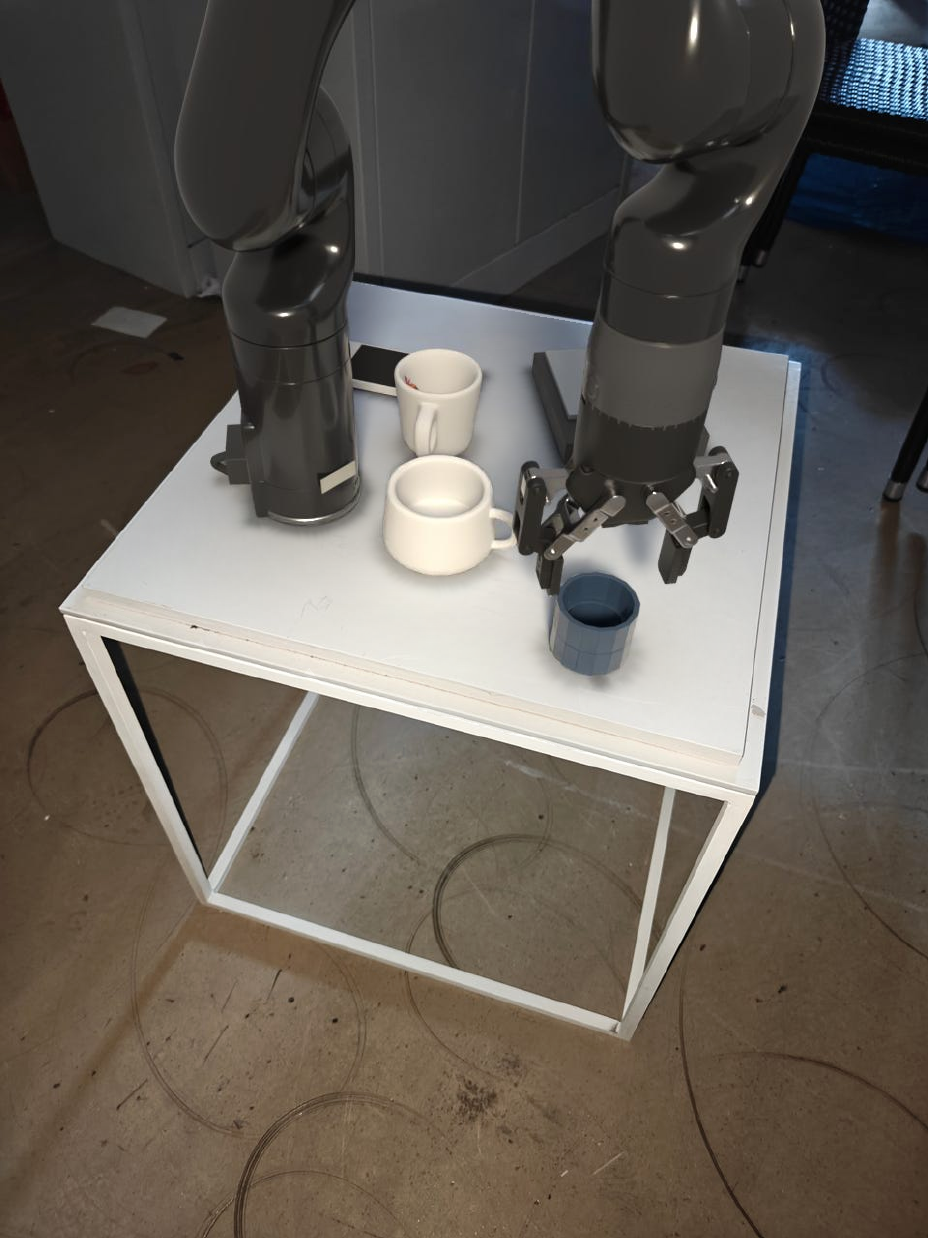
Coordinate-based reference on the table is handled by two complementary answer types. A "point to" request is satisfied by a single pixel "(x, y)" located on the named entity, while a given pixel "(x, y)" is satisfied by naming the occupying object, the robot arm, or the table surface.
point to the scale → (568, 395)
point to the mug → (441, 515)
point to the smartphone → (374, 367)
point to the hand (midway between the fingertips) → (608, 581)
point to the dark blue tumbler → (594, 623)
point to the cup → (437, 400)
